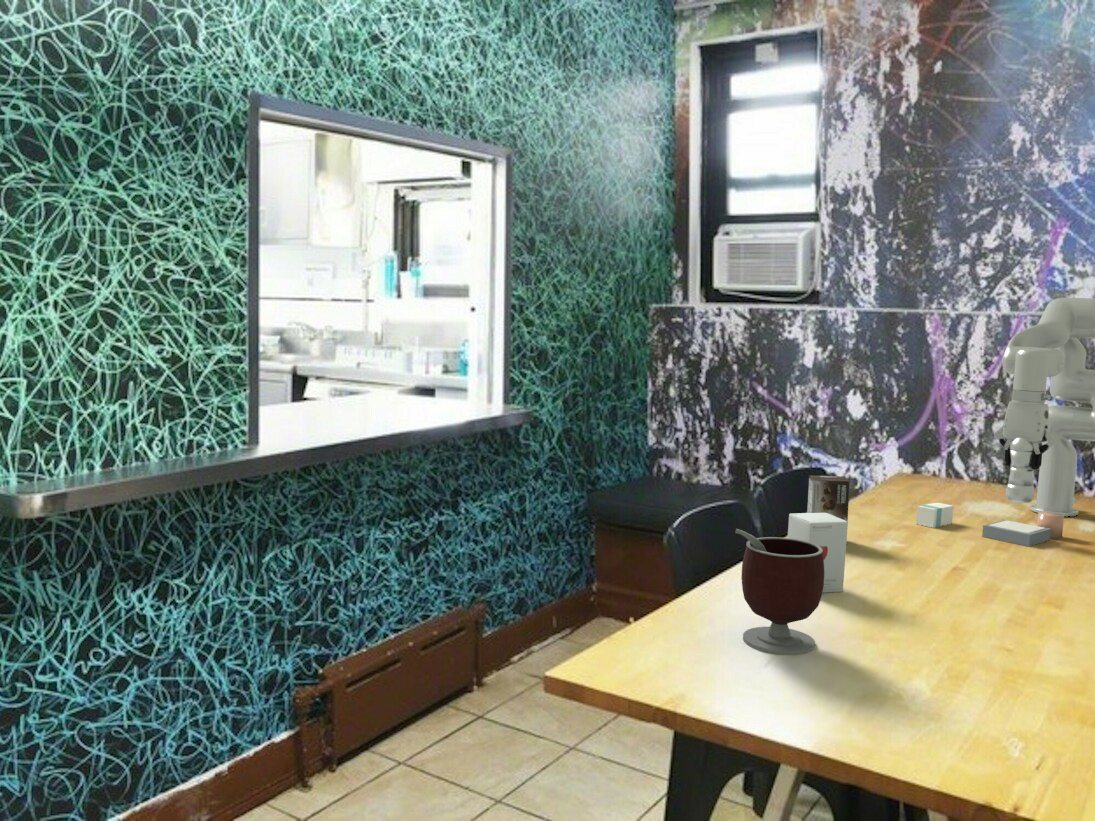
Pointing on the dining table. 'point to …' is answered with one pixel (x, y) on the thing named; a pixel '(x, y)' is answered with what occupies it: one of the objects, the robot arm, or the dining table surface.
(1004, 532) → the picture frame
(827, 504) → the coffee box
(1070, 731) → the dining table surface
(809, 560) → the mate gourd
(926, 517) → the lying carton
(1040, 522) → the pink smooth rounded part
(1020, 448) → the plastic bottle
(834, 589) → the supplement box
